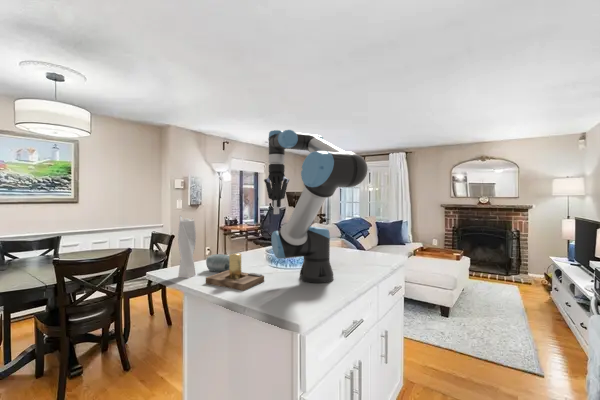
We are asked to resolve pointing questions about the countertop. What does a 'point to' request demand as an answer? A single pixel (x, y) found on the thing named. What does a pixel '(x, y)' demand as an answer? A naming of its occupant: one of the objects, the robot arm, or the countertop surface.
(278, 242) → the robot arm
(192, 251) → the skyscraper
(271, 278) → the countertop surface
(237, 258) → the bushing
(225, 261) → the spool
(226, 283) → the jig
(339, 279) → the countertop surface
